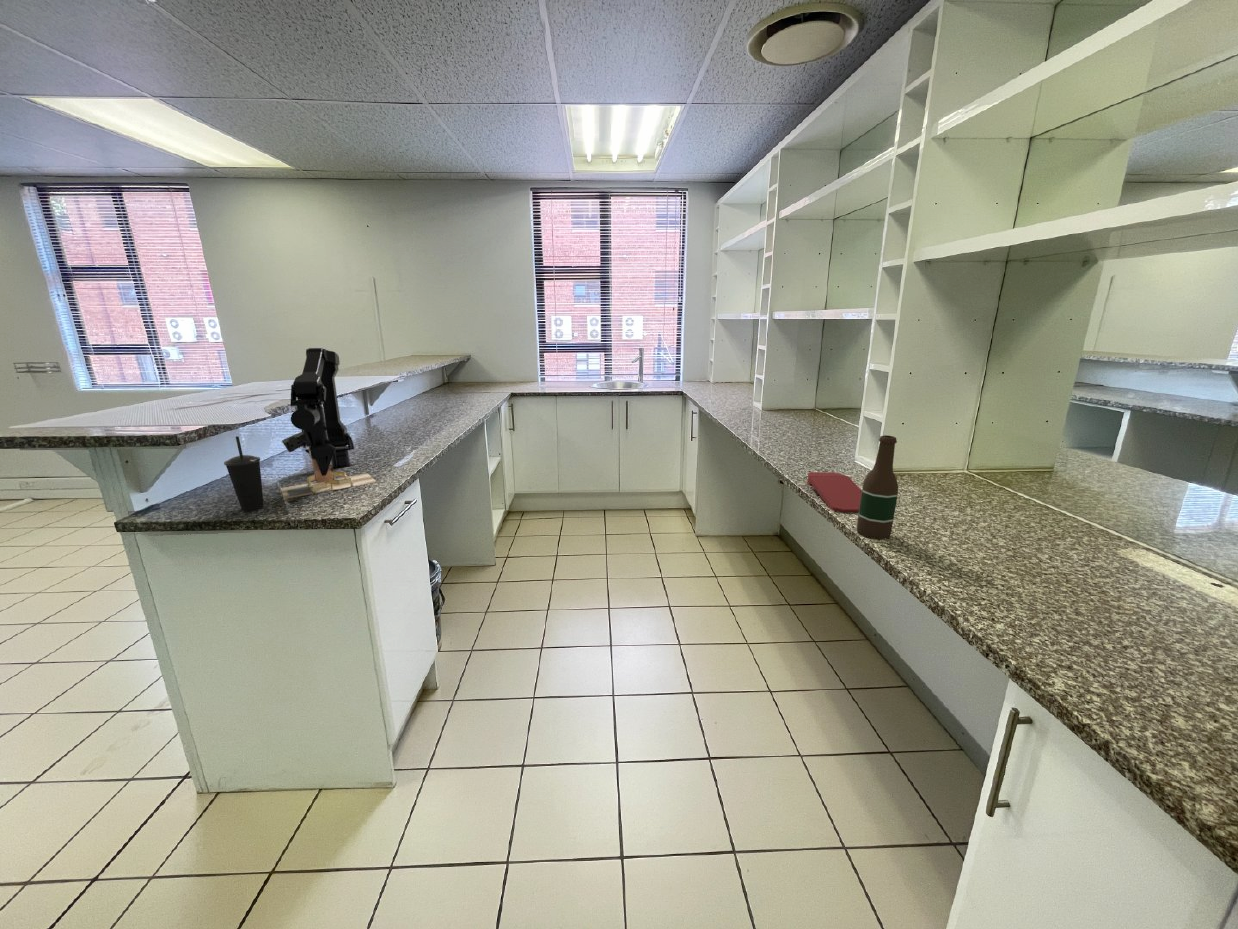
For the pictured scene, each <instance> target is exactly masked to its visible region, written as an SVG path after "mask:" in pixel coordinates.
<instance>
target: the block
mask: <svg viewBox="0 0 1238 929" xmlns="http://www.w3.org/2000/svg"><path fill="white" fill-rule="evenodd" d="M310 458H311V457H310ZM311 465H312V470H313V475H314V476H315V480H314V481H315V482H317V483H321V482H327V481H329V480H333V477H332V473H331V472H332V469H331V467H330V465H331V464H330V465H329V468H328V471H327V475H325V476H322V474H321V472H320V469H319V467H318V464H317V462H316V460H315V459H313V458H311Z"/></svg>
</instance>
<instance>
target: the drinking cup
mask: <svg viewBox="0 0 1238 929" xmlns="http://www.w3.org/2000/svg"><path fill="white" fill-rule="evenodd" d="M235 441H236V445H237V450H238V454H239V455H237V456H233V457H231V458H229V459H228V460H226V461H224V462H223V465H224V466H226V470H227V473H228V475H229V476H228V477H229V478H230V481H231V484H232V487H233V490H234V492H235V495H236V497H237V500H238V503H239V506H240V509H241V511H242V512H243V513H244V512H245V513H249V512H257V511H259V509H260V510H261V509H263V508H265V502H264V494H263V493H264V492H263V484H262V483H263V482H262V474H261V462H260V461H261V457H259V456H255V455H249V454H243V450H242V445H241V441H240V437H239V436H235Z"/></svg>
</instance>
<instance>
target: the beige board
mask: <svg viewBox="0 0 1238 929" xmlns="http://www.w3.org/2000/svg"><path fill="white" fill-rule="evenodd" d="M348 478H351V481H352V482H353V486H352V487H351V485H350V483H346V484H340V485H335V484H333V488H331V486H330V485H329V486H327V487H323V488H317V489H315V493H314V494H319V493H326V492H331V491H336V490H341V489H347V488H353V487H358V486H364V485H369V484H374V483H378V481H377V480H375V478H373V477H372V475H370V474H369V473H368V472H367V473H361V474H355V475H347V479H348ZM332 479H333V478H332ZM342 479H344V476H341V477H337V478H336V477H335V479H333V480H342ZM321 483H325V482H321ZM313 484H319V483H317V482H316V481H314V482H313V481H312V482H310V486H308V485H307V483H302V484H295V485H291V486H290V485H289V486H285V487H284V486H283V487H280V489H279V490H280V492H282V493H281V494H282V497H283V499H284V501H285V503H287V502H289V499H291V498H298V497H303V496H308V495H314V494H313V493H312V489H313V487H312V485H313Z"/></svg>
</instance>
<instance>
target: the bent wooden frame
mask: <svg viewBox="0 0 1238 929" xmlns="http://www.w3.org/2000/svg"><path fill="white" fill-rule="evenodd" d="M331 473H332V479H336V477H337V476H338V477H344V479H342V480H329V481H327V482H325V483H319V484H313V485H312V487H313V489H312V493H313V494H312V495H314V493H315V489H317V488H323V487H327V486H329V485H330V486H331V488H333V484H335V485H340V484H346V483H350V485H351V487H350V488H353V487H354V486H353V482H352V481H351V478H348V479H347V477H348V475H347V472H346V471H341V470H340V471H336V470H333V471H332V470H331ZM313 481H316V480H315V476H314V474H312V475H310V476H309V477H306V484H307V485H308V486H310V483H311V482H313ZM352 486H353V487H352ZM315 494H316V493H315Z"/></svg>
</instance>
